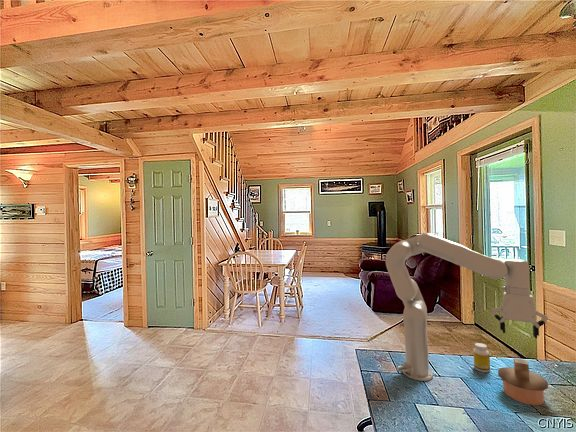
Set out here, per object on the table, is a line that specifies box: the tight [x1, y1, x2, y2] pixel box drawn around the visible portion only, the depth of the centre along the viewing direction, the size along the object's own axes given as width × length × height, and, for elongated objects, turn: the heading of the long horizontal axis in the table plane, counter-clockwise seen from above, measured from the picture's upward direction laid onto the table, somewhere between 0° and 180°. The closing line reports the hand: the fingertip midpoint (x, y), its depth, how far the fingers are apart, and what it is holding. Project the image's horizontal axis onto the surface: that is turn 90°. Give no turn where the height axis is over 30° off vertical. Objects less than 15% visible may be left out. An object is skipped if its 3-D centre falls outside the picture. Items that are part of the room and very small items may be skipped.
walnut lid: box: [497, 357, 549, 391], centre depth 109 cm, size 15×15×7 cm
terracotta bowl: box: [502, 380, 545, 406], centre depth 109 cm, size 12×12×6 cm
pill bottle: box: [472, 342, 491, 373], centre depth 129 cm, size 6×6×11 cm
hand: (519, 334), depth 110 cm, fingers open, 9 cm apart
